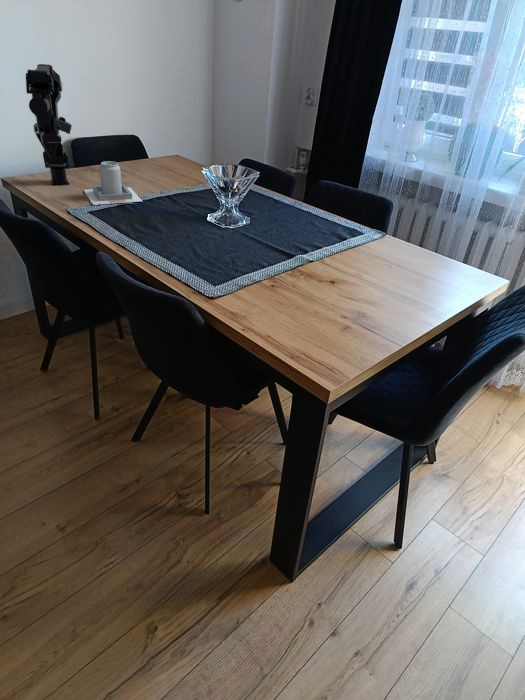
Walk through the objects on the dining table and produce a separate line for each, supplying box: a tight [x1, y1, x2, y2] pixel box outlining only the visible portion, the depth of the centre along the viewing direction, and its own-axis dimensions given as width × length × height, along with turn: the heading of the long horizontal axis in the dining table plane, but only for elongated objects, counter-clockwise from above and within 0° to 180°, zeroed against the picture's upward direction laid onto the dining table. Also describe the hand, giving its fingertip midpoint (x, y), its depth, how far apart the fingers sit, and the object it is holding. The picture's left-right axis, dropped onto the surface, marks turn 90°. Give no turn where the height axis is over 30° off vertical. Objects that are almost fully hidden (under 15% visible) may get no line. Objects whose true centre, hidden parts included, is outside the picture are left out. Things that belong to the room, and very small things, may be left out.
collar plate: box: [83, 184, 143, 206], centre depth 189 cm, size 18×18×3 cm
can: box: [98, 160, 123, 195], centre depth 186 cm, size 8×8×12 cm
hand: (50, 157), depth 181 cm, fingers open, 9 cm apart
